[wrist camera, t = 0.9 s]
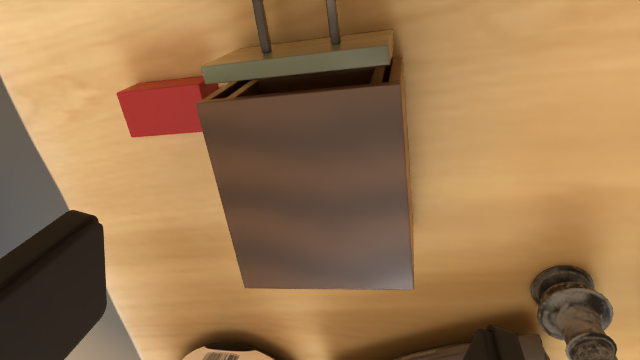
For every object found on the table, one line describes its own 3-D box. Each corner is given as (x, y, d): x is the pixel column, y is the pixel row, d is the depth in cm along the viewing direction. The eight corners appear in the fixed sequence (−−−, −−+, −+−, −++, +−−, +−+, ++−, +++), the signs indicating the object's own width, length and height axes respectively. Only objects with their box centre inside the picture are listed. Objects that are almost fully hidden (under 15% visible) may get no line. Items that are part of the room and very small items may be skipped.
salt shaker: (521, 308, 42) (559, 423, 32) (535, 259, 39) (581, 366, 29) (587, 316, 41) (648, 437, 31) (605, 267, 39) (679, 380, 28)
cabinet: (241, 74, 37) (194, 103, 29) (403, 56, 34) (400, 83, 26) (275, 229, 43) (244, 288, 35) (413, 226, 40) (414, 290, 32)
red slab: (138, 83, 39) (115, 92, 36) (215, 74, 37) (198, 83, 34) (151, 125, 41) (131, 137, 38) (226, 118, 39) (210, 131, 36)
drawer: (219, -42, 32) (172, -44, 26) (386, -72, 30) (379, -83, 23) (272, 204, 41) (246, 248, 35) (404, 199, 38) (403, 246, 32)
